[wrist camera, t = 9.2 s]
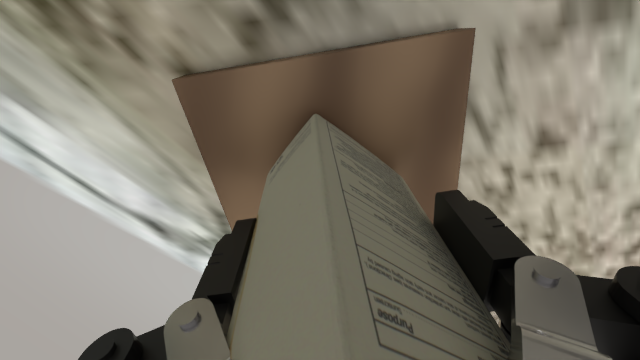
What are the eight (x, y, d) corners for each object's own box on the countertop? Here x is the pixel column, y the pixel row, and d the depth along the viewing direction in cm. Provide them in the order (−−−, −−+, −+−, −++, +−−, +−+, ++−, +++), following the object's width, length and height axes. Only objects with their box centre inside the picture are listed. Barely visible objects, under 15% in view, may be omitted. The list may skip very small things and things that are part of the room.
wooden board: (459, 28, 13) (475, 28, 12) (442, 220, 19) (452, 234, 18) (184, 75, 14) (171, 79, 13) (249, 247, 20) (244, 263, 18)
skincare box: (265, 174, 14) (118, 622, 3) (315, 108, 12) (336, 564, 2) (356, 231, 16) (444, 624, 5) (409, 180, 15) (682, 597, 4)
